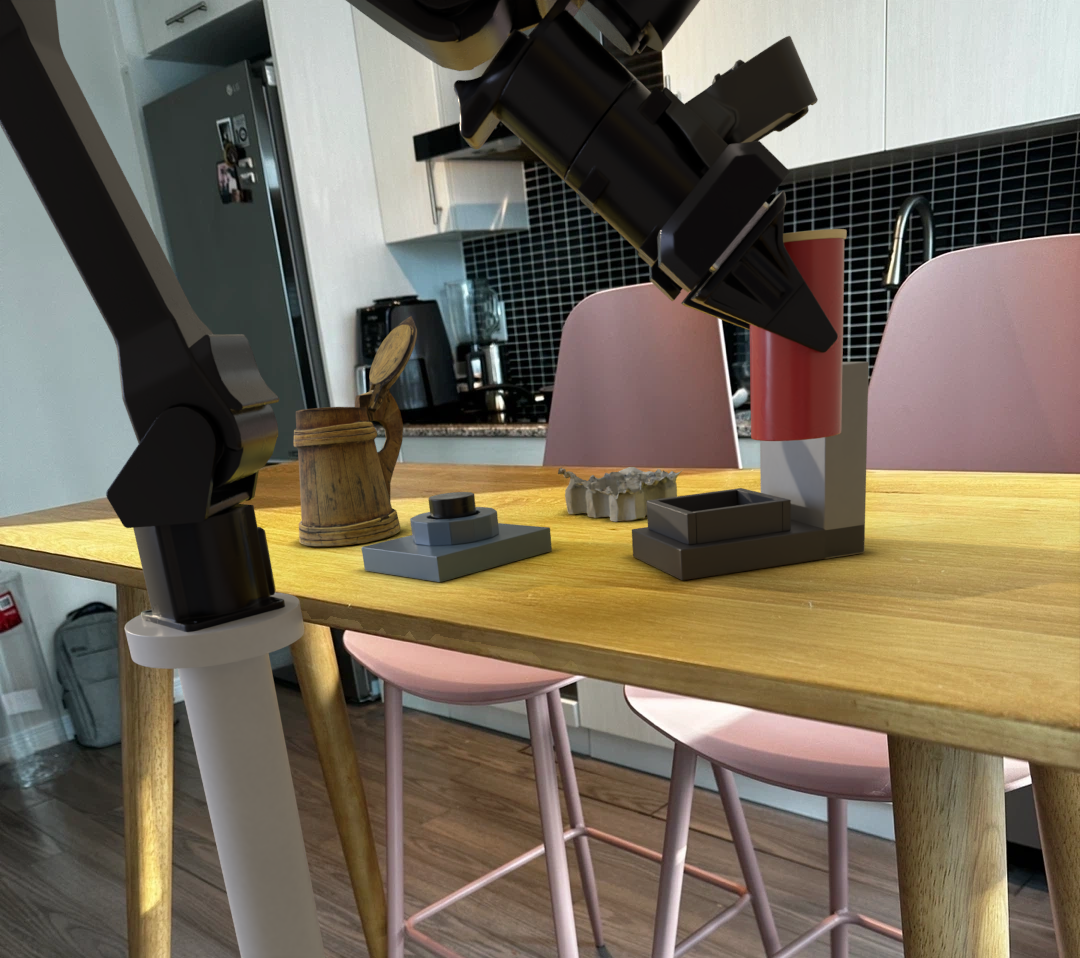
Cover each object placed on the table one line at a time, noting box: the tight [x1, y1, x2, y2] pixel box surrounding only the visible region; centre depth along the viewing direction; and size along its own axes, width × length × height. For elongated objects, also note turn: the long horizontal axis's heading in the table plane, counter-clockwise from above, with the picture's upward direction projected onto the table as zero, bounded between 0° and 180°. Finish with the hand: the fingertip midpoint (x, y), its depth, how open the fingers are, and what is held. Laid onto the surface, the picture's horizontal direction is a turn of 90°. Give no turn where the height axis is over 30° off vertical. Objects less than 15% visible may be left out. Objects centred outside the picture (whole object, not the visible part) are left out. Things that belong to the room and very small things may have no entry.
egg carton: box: [557, 466, 683, 522], centre depth 91 cm, size 11×8×4 cm
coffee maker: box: [631, 361, 870, 581], centre depth 68 cm, size 13×9×12 cm
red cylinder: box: [749, 228, 848, 442], centre depth 55 cm, size 5×5×10 cm
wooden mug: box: [293, 315, 418, 548], centre depth 90 cm, size 9×14×18 cm, turn 124°
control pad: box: [361, 506, 553, 583], centre depth 77 cm, size 11×9×4 cm
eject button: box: [428, 491, 477, 520], centre depth 76 cm, size 3×3×2 cm
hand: (822, 344), depth 55 cm, fingers closed on red cylinder, 5 cm apart
